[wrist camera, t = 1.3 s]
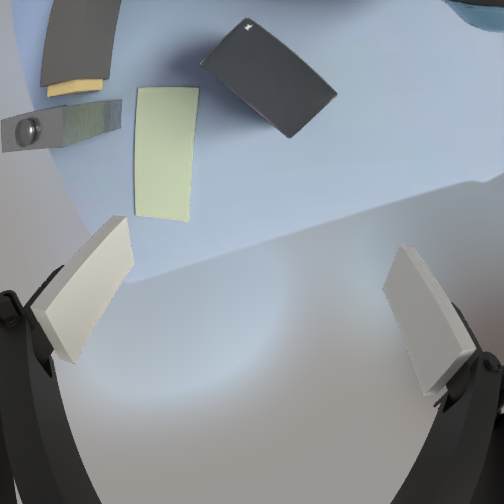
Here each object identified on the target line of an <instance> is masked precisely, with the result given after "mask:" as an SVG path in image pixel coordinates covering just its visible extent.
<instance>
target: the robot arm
mask: <svg viewBox="0 0 504 504" xmlns="http://www.w3.org/2000/svg"><path fill="white" fill-rule="evenodd" d="M442 1H444V2H445V3H446V4H448V5H449V6H450V7H451V8H452V9H453V10H454V11H455V12H456V13H457V14H458V15H459V17H460V18H462V19H463V20H464V21H465V22H466V23H468V24H470V25H471V26H474V27H476V28H480V29H482V30H485V31H490V32H504V0H442ZM133 265H134V260H133V254H132V249H131V243H130V236H129V230H128V223H127V216H112V217H111V218H110V219H109V220H108V221H107V222H106V223H105V224H104V225H103V226H102V227H101V228H100V229H99V230H98V231H97V232H96V233H95V234H94V235H93V236H92V237H91V238H90V239H89V240H88V241H87V242H86V243H85V244H84V245H83V246H82V247H81V248H80V249H79V250H78V252H77V253H76V254H75V255H74V256H73V257H72V258H71V259H70V260H69V261H68V262H67V264H66V265H62V266H61V267H59V268H58V269H56V270H55V271H53V272H52V273H51V275H50V276H49V277H48V278H47V281H45V282H44V283H43V284H42V285H41V287H39V289H38V290H37V291H36V292H35V293H34V295H33V296H32V297H31V298H30V300H29V301H28V302H27V303H26V305H25V306H24V307H22V305H21V303H20V301H19V299H18V297H17V294H16V293H15V292H13V291H11V290H7V291H3V292H1V293H0V504H17V499H16V493H15V486H14V479H15V483H16V486H17V489H18V492H19V495H20V498H21V501H22V503H23V504H102V503H101V501H100V499H99V498H98V496H97V494H96V491H95V489H94V487H93V486H92V483H91V481H90V479H89V477H88V474H87V472H86V470H85V468H84V465H83V463H82V460H81V458H80V455H79V452H78V450H77V447H76V444H75V441H74V439H73V436H72V433H71V430H70V427H69V423H68V420H67V417H66V414H65V410H64V406H63V403H62V399H61V395H60V391H59V386H58V382H57V377H56V372H55V367H54V362H53V359H52V357H51V353H52V352H53V350H55V352H56V353H57V355H58V357H59V358H60V359H62V360H64V361H67V362H70V363H72V364H75V362H76V360H77V358H78V357H79V355H80V353H81V351H82V349H83V347H84V345H85V344H86V342H87V340H88V338H89V336H90V335H91V333H92V331H93V329H94V328H95V326H96V324H97V322H98V321H99V319H100V317H101V316H102V314H103V312H104V310H105V309H106V307H107V306H108V304H109V302H110V301H111V299H112V297H113V296H114V294H115V293H116V291H117V290H118V288H119V287H120V285H121V283H122V282H123V280H124V279H125V277H126V276H127V274H128V273H129V271H130V270H131V268H132V267H133ZM383 291H384V293H385V295H386V298H387V300H388V302H389V304H390V307H391V309H392V312H393V314H394V316H395V319H396V321H397V324H398V326H399V329H400V331H401V334H402V336H403V339H404V341H405V344H406V347H407V350H408V352H409V355H410V358H411V361H412V363H413V366H414V369H415V372H416V375H417V378H418V381H419V384H420V387H421V391H422V394H423V396H426V395H432V394H437V393H438V392H439V391H440V390H441V389H442V388H443V387H444V386H445V385H446V386H447V389H448V391H447V392H446V393H445V394H444V395H443V396H442V397H441V398H440V399H439V400H438V401H437V402H436V403H435V404H434V407H436V406H437V405H438V404H439V403H441V404H440V407H439V408H438V409H439V410H438V412H437V415H436V417H435V420H434V422H433V425H432V427H431V429H430V432H429V434H428V436H427V438H426V441H425V443H424V445H423V447H422V449H421V452H420V453H419V455H418V457H417V459H416V461H415V463H414V465H413V467H412V469H411V471H410V472H409V474H408V476H407V478H406V479H405V481H404V483H403V484H402V486H401V488H400V489H399V491H398V493H397V494H396V496H395V497H394V499H393V500H392V502H391V504H504V413H503V414H502V413H501V409H502V408H503V407H504V366H502V365H501V364H500V362H499V360H498V359H497V358H496V356H494V355H493V354H492V353H489V352H483V351H482V349H481V347H480V345H479V344H478V342H477V340H476V338H475V336H474V334H473V332H472V330H471V329H470V328H469V325H468V323H467V321H465V318H464V316H463V315H462V313H461V311H460V310H459V309H458V308H457V307H456V306H455V305H454V304H453V303H452V302H450V300H449V299H448V297H447V296H446V294H445V293H444V291H443V290H442V288H441V286H440V285H439V283H438V282H437V280H436V279H435V277H434V276H433V274H432V273H431V271H430V270H429V268H428V267H427V265H426V264H425V262H424V261H423V260H422V258H421V257H420V255H419V254H418V253H417V251H416V250H415V249H414V247H413V246H411V245H404V244H400V245H399V248H398V251H397V253H396V256H395V259H394V261H393V264H392V267H391V269H390V272H389V274H388V276H387V279H386V281H385V284H384V286H383ZM13 476H14V477H13Z"/></svg>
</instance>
